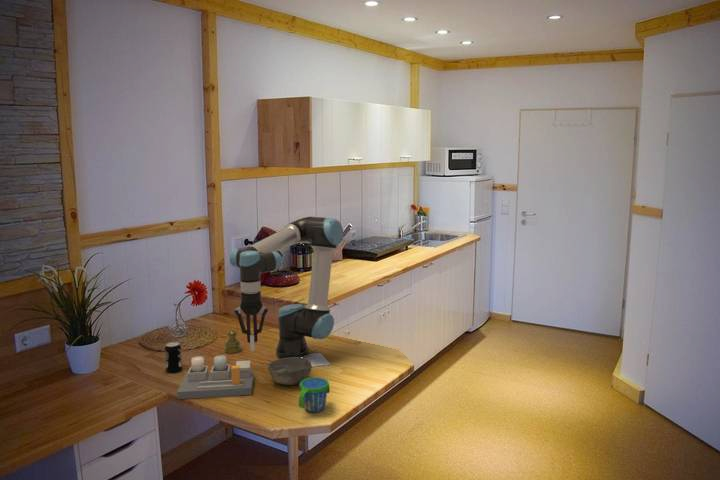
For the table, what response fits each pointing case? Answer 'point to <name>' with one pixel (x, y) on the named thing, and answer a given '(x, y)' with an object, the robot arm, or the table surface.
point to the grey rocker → (243, 365)
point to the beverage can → (173, 357)
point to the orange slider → (236, 375)
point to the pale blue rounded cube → (220, 363)
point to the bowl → (290, 370)
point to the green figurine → (232, 343)
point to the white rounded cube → (197, 364)
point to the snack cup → (313, 393)
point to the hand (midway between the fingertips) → (252, 349)
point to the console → (214, 384)
